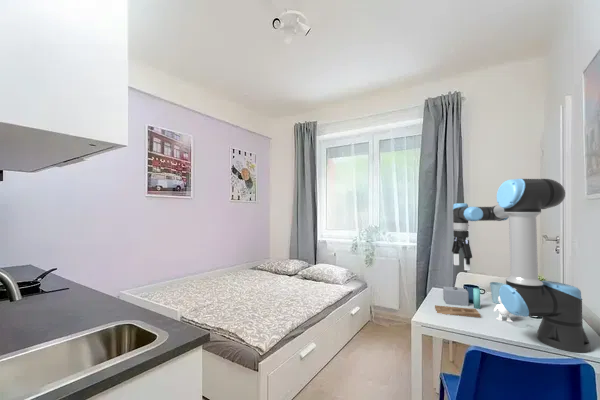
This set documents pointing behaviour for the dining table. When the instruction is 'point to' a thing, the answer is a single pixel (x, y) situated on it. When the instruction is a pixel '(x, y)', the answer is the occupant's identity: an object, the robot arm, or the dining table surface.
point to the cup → (495, 291)
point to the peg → (476, 298)
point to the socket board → (458, 311)
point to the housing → (455, 296)
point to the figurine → (502, 311)
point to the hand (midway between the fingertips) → (461, 267)
